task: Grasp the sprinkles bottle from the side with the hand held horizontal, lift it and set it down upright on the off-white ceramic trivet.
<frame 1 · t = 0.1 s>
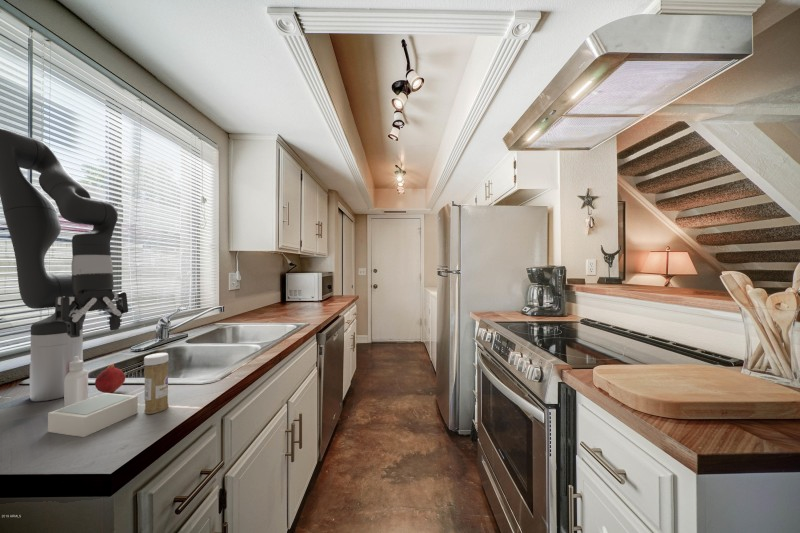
hand: (95, 333, 76), 17 cm above the countertop, tool pointing down, fingers open, 8 cm apart
trivet: (95, 421, 64), on the countertop
eye dropper bottle: (76, 404, 73), on the countertop
sprinkles bottle: (156, 410, 70), on the countertop
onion: (110, 394, 79), on the countertop
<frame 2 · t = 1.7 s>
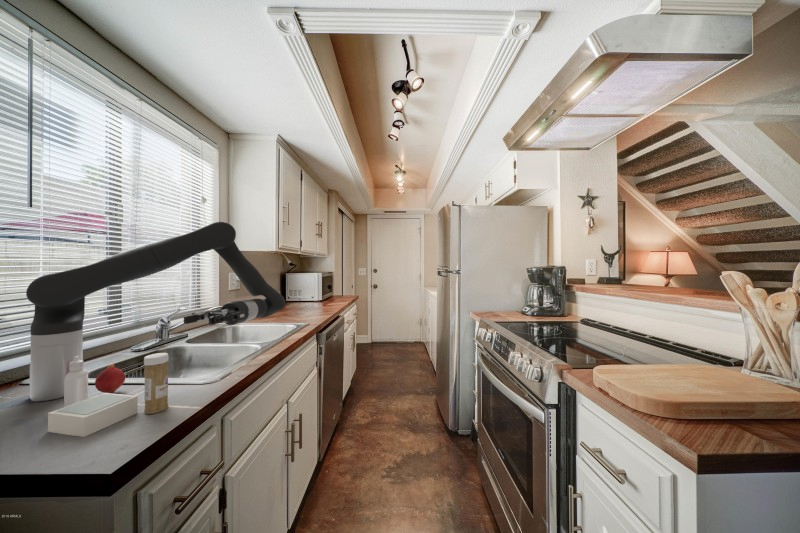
hand: (197, 320, 81), 20 cm above the countertop, tool horizontal, fingers open, 8 cm apart
nothing on the countertop moved.
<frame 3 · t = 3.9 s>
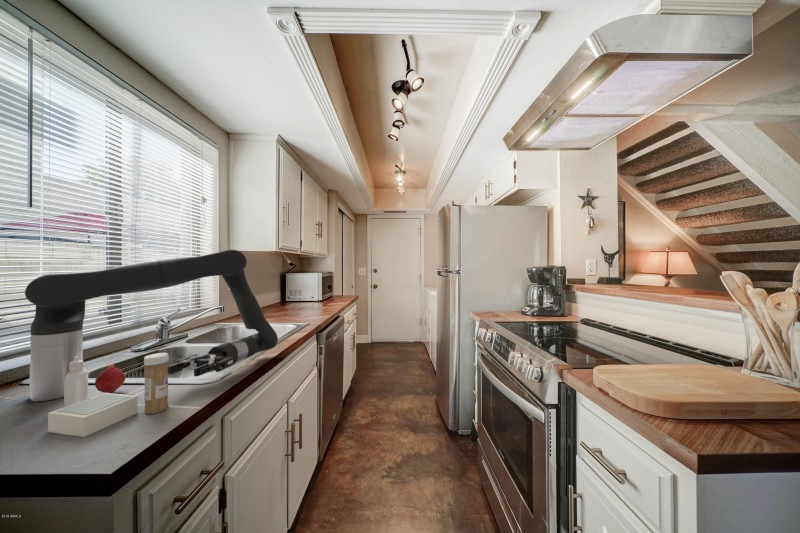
hand: (181, 371, 76), 7 cm above the countertop, tool horizontal, fingers open, 8 cm apart
nothing on the countertop moved.
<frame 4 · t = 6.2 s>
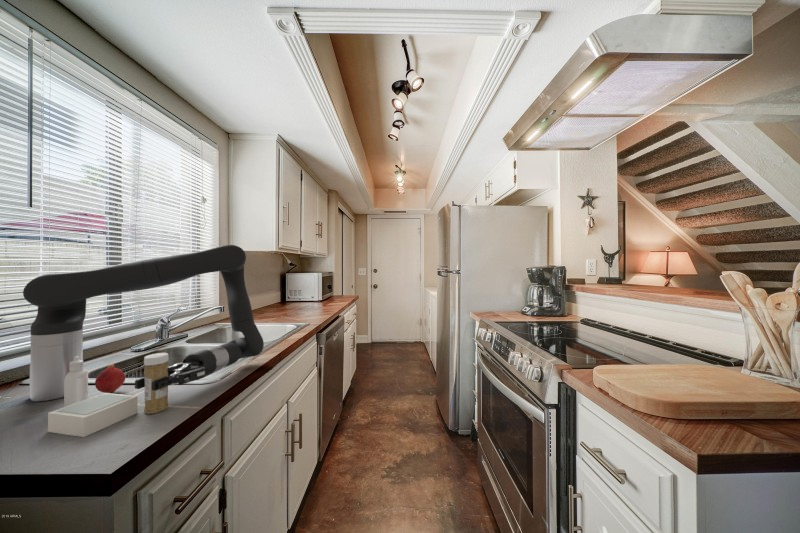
hand: (144, 385, 67), 7 cm above the countertop, tool horizontal, fingers closed on sprinkles bottle, 4 cm apart
sprinkles bottle: (156, 410, 70), on the countertop, touching gripper
everything else where it was.
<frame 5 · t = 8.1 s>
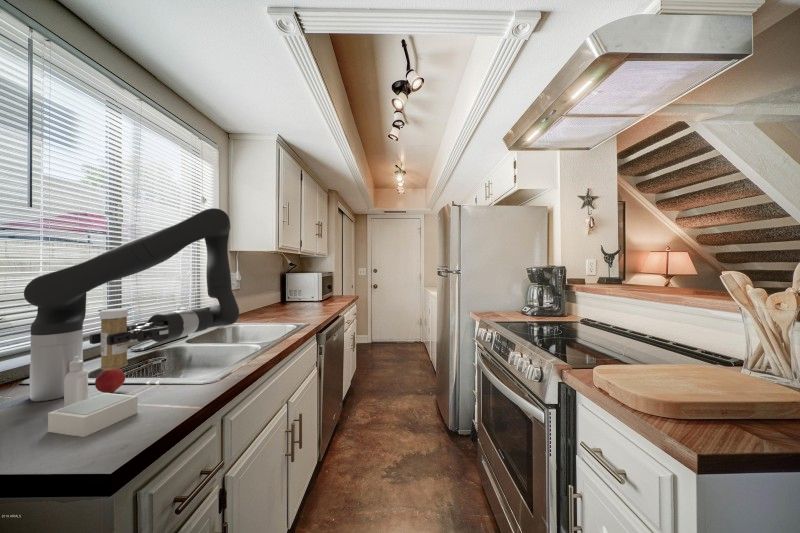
hand: (99, 340, 63), 19 cm above the countertop, tool horizontal, fingers closed on sprinkles bottle, 4 cm apart
sprinkles bottle: (114, 368, 66), point 11 cm above the countertop, touching gripper
everything else where it was.
when the fingers open (12 cm above the countertop, at t = 10.0 s): sprinkles bottle stays where it is, resting on trivet.
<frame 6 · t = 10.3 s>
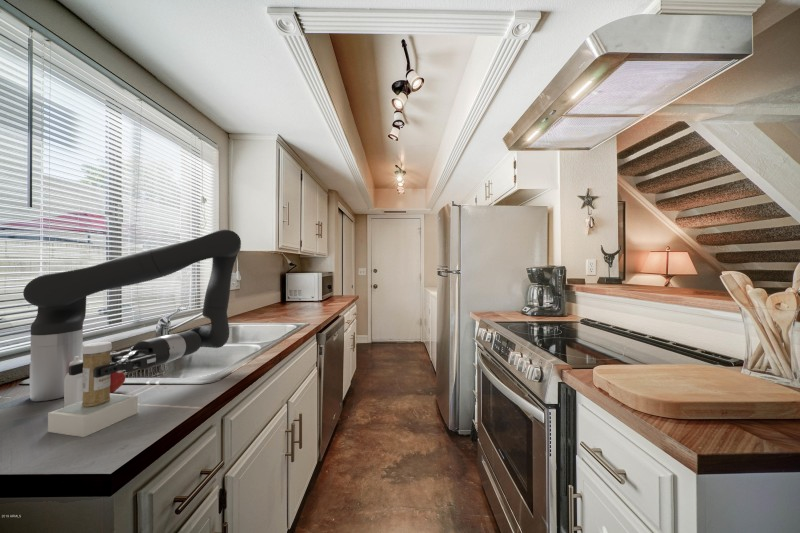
hand: (82, 372, 62), 12 cm above the countertop, tool horizontal, fingers open, 6 cm apart
sprinkles bottle: (96, 403, 64), point 4 cm above the countertop, touching trivet
everything else where it was.
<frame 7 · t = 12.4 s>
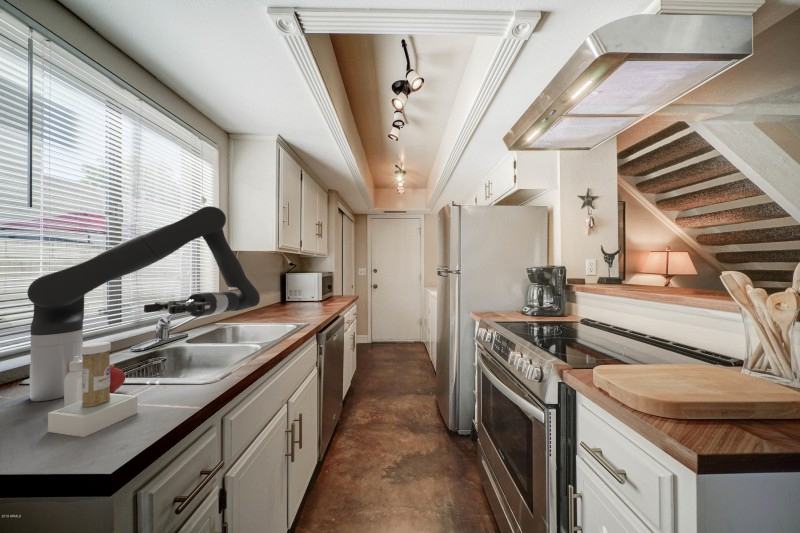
hand: (157, 309, 78), 23 cm above the countertop, tool horizontal, fingers open, 8 cm apart
nothing on the countertop moved.
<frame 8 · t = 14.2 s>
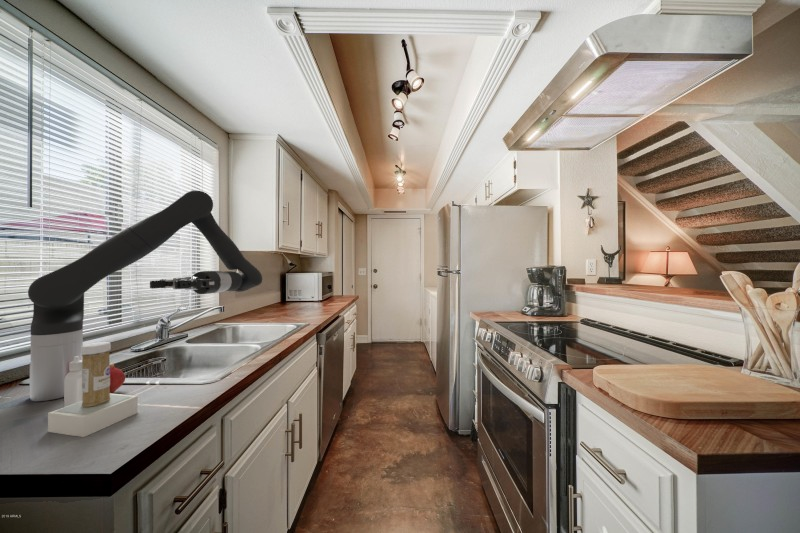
hand: (163, 284, 79), 30 cm above the countertop, tool horizontal, fingers open, 8 cm apart
nothing on the countertop moved.
at the end: sprinkles bottle inside the target area on the trivet (0.1 cm from its centre), point 4.0 cm above the trivet's base; sprinkles bottle tilted 0°; the gripper is holding nothing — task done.
